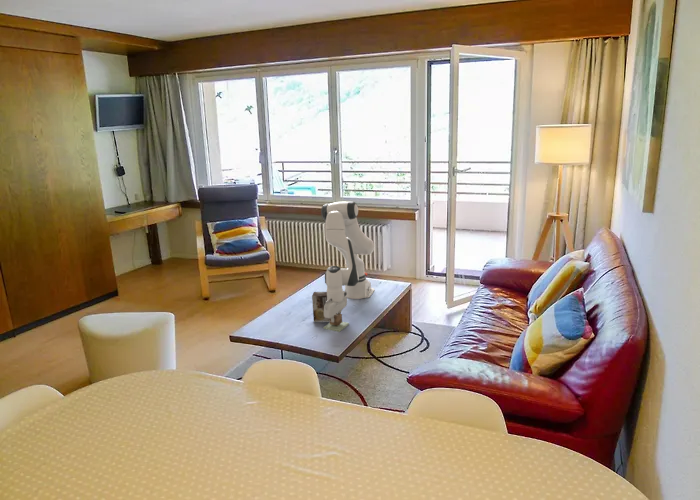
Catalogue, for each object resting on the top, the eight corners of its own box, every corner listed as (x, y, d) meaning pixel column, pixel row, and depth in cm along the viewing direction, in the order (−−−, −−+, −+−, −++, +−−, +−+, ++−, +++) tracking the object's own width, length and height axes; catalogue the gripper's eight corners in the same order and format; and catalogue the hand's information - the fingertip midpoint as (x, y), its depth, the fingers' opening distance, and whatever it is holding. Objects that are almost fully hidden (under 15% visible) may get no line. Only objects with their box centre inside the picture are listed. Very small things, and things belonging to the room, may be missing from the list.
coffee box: (330, 317, 289) (329, 291, 285) (329, 322, 283) (327, 295, 279) (315, 317, 290) (313, 291, 286) (313, 322, 284) (311, 295, 279)
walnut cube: (342, 322, 277) (341, 313, 276) (337, 325, 273) (337, 317, 272) (334, 320, 279) (333, 312, 278) (329, 324, 275) (329, 315, 274)
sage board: (333, 321, 283) (333, 319, 283) (348, 324, 279) (348, 322, 279) (323, 328, 274) (323, 327, 274) (339, 331, 270) (339, 330, 269)
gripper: (330, 303, 262) (331, 327, 265) (348, 291, 279) (349, 314, 283) (320, 301, 264) (321, 325, 268) (338, 289, 282) (339, 312, 286)
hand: (335, 319), depth 276 cm, fingers closed on walnut cube, 5 cm apart
